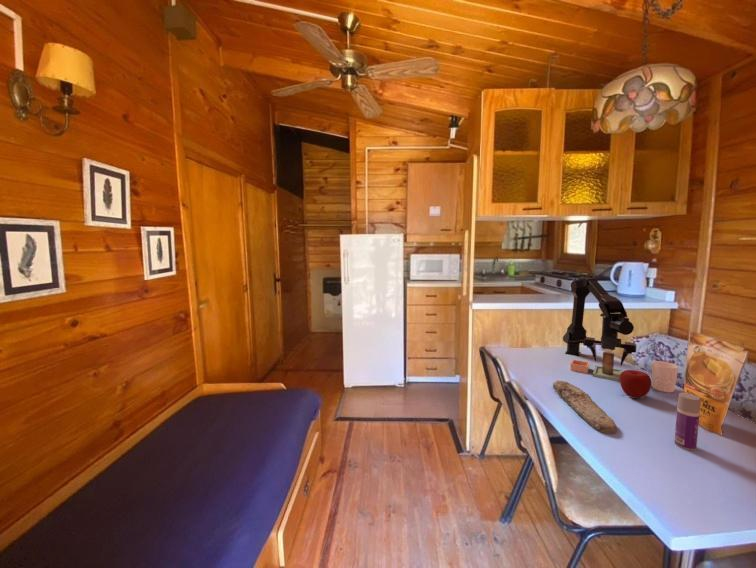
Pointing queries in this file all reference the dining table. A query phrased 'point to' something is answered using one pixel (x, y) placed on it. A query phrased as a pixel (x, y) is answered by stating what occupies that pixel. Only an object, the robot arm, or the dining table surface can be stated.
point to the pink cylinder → (664, 376)
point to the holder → (580, 366)
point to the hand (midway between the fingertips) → (608, 363)
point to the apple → (635, 383)
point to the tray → (615, 375)
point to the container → (687, 421)
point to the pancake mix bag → (712, 376)
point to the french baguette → (585, 407)
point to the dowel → (608, 363)
